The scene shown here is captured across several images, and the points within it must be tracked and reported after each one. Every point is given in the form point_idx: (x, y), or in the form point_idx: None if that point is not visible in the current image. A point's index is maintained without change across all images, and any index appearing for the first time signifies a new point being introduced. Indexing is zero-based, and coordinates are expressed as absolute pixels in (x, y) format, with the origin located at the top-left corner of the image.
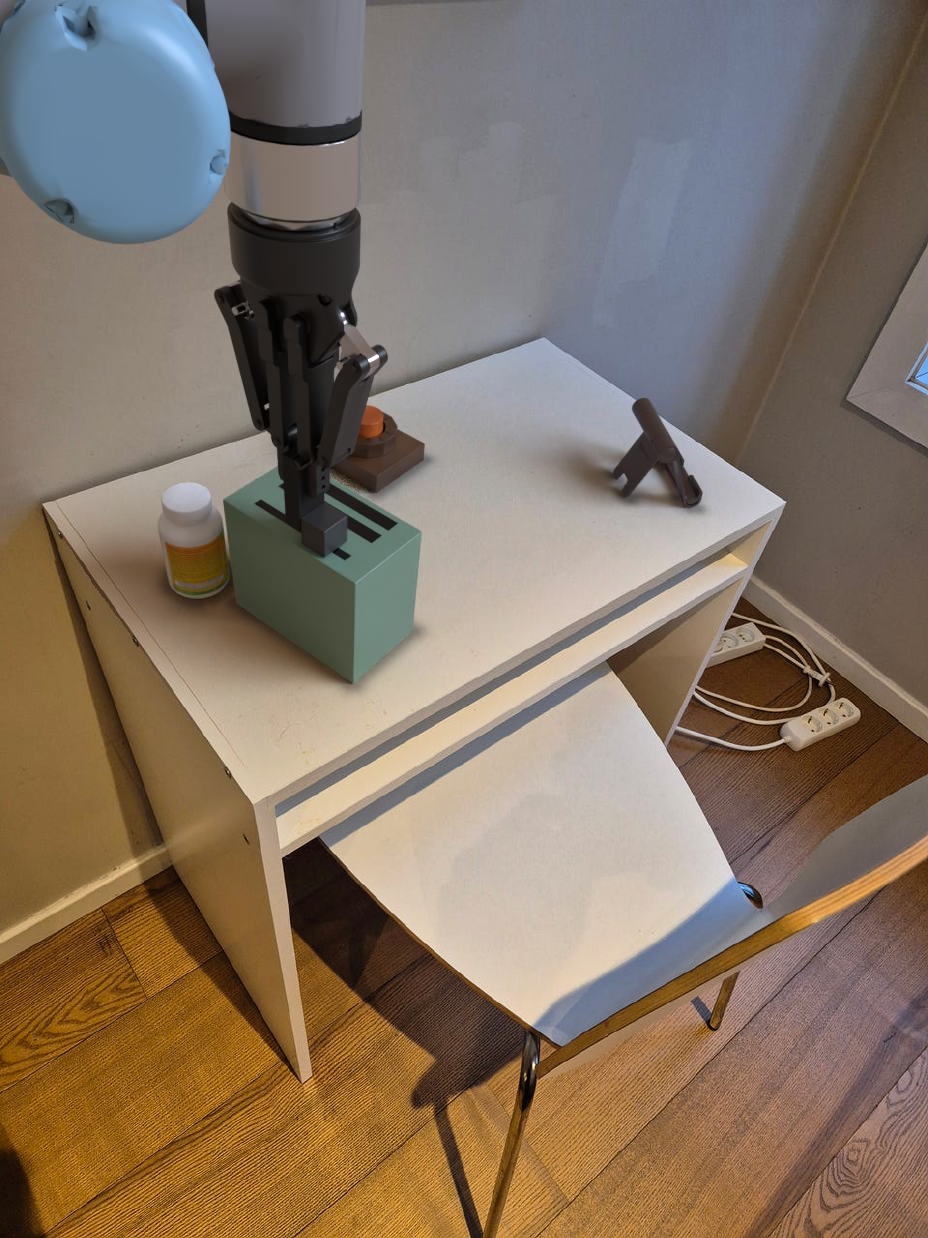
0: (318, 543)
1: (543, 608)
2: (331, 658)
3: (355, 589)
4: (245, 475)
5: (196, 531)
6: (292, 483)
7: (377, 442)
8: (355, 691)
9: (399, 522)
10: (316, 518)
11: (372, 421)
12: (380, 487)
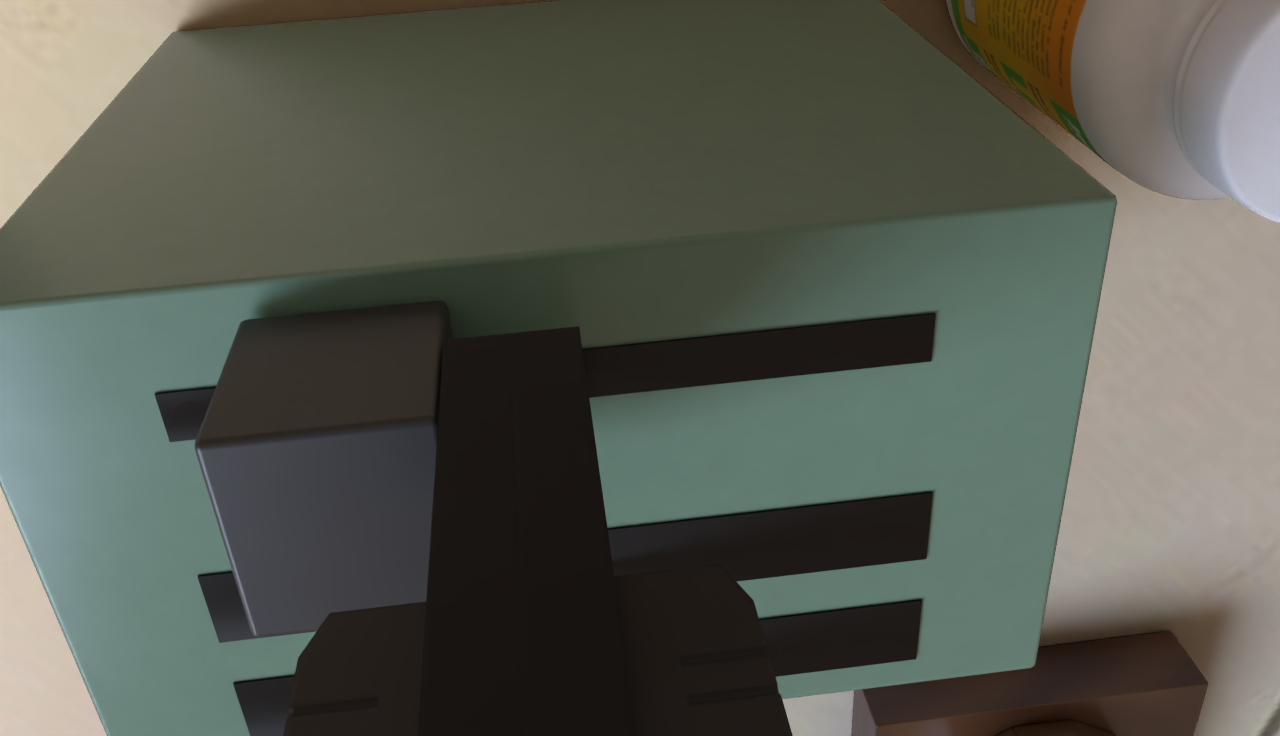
0: (276, 361)
1: (82, 716)
2: (284, 41)
3: None
4: (1277, 433)
5: (1164, 9)
6: (493, 615)
7: None
8: (135, 13)
9: None
10: (359, 490)
11: None
12: (857, 695)
